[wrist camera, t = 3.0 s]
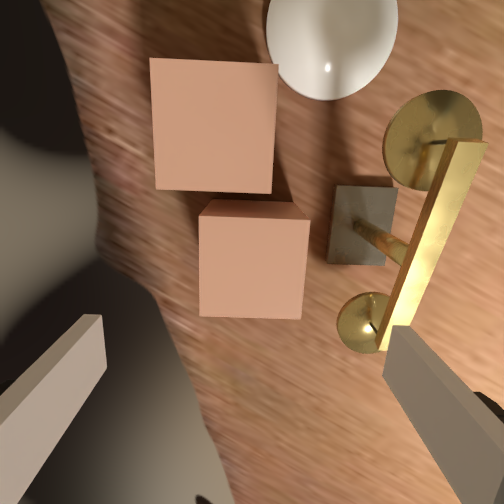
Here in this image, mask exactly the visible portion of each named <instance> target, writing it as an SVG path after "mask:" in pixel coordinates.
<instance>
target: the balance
mask: <svg viewBox="0 0 504 504" xmlns="http://www.w3.org/2000/svg"><path fill="white" fill-rule="evenodd" d="M488 144H489V143H487V142H484V141H482V122H481V118H480V115H479V113H478V111H477V109H476V107H475V106H474V105H473V103H472V102H471V101H470V100H469V99H468V98H466V97H465V96H463V95H461V94H459V93H457V92H454V91H449V90H436V91H431V92H427V93H424V94H421V95H419V96H417V97H414V98H413V99H411V100H409V101H408V102H407V103H405V104H404V105H403V106H402V107H401V108H400V109H399V110H398V111H397V112H396V113H395V114H394V116H393V117H392V119H391V120H390V122H389V124H388V126H387V128H386V131H385V134H384V138H383V145H382V154H383V160H384V163H385V166H386V168H387V171H388V172H389V174H390V175H391V176H392V178H393V179H394V180H395V181H397V182H398V183H399V184H401V185H403V186H405V187H407V188H410V189H414V190H419V191H428V194H427V197H426V200H425V202H424V205H423V208H422V211H421V213H420V216H419V219H418V222H417V224H416V227H415V230H414V233H413V235H412V238H411V241H410V244H407V243H406V242H404V241H402V240H400V239H398V238H397V237H395V236H393V235H391V234H390V232H391V227H392V221H393V215H394V210H395V204H396V199H397V193H398V188H396V187H380V186H356V185H334V190H333V199H332V207H331V216H330V224H329V233H328V242H327V250H326V259H325V261H326V262H327V264H349V265H378V266H385V260H386V256H388V257H389V258H390V259H392V260H393V261H394V262H396V263H397V264H398V265H400V266H401V268H400V271H399V274H398V277H397V279H396V282H395V285H394V288H393V290H392V293H391V296H388V295H386V294H383V293H380V292H366V293H362V294H359V295H357V296H355V297H353V298H352V299H350V300H349V301H348V302H346V303H345V305H344V306H343V307H342V308H341V310H340V312H339V314H338V317H337V324H336V325H337V331H338V334H339V336H340V338H341V340H342V342H343V343H344V344H345V345H346V346H347V347H348V348H350V349H351V350H353V351H356V352H359V353H365V354H371V353H377V352H380V351H387V350H388V345H389V340H390V335H391V330H392V325H406V326H409V325H410V323H411V321H412V318H413V316H414V314H415V312H416V309H417V307H418V305H419V302H420V300H421V298H422V295H423V293H424V291H425V289H426V286H427V284H428V282H429V279H430V277H431V275H432V272H433V270H434V268H435V266H436V263H437V261H438V259H439V256H440V254H441V252H442V249H443V247H444V245H445V243H446V240H447V238H448V236H449V233H450V231H451V229H452V226H453V224H454V222H455V220H456V217H457V215H458V213H459V210H460V208H461V206H462V203H463V201H464V199H465V197H466V194H467V192H468V190H469V187H470V185H471V183H472V180H473V178H474V176H475V174H476V171H477V169H478V167H479V164H480V162H481V160H482V157H483V155H484V153H485V151H486V148H487V146H488Z"/></svg>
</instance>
